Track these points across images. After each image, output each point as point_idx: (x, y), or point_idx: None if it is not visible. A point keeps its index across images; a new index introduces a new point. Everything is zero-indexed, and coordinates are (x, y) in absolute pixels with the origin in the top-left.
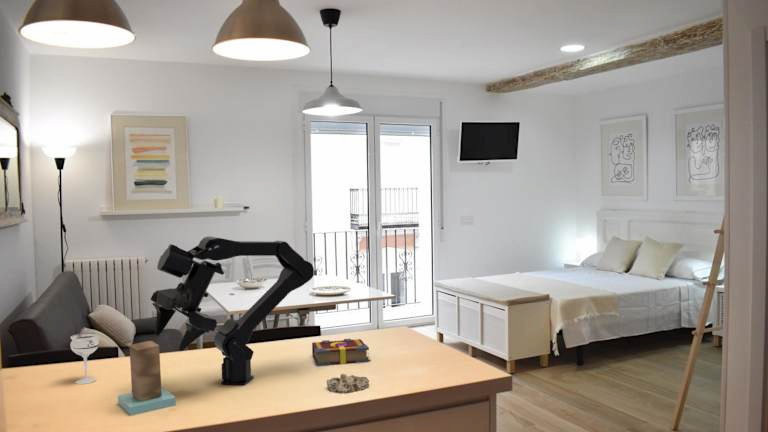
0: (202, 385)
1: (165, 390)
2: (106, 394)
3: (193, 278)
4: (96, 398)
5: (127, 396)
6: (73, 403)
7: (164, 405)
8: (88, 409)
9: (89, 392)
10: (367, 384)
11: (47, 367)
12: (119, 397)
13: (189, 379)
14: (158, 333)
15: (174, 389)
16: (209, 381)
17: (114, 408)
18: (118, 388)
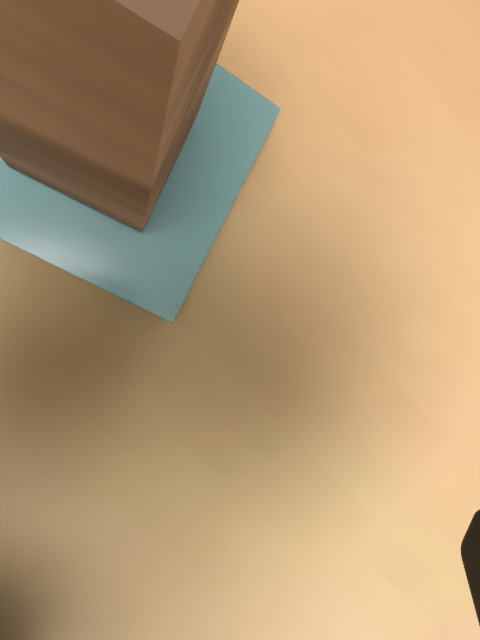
0: (56, 532)
1: (87, 275)
2: (410, 216)
3: None
4: (410, 156)
5: (221, 114)
6: (448, 70)
7: None
8: (332, 17)
9: None
10: None
11: None
12: (251, 89)
13: (207, 563)
14: (478, 559)
15: (159, 408)
16: (71, 601)
17: (228, 61)
18: (422, 302)
